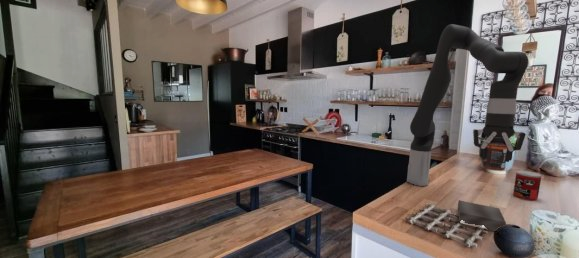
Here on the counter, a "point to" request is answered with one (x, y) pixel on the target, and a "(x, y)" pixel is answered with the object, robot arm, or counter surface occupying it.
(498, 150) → the supplement bottle
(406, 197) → the counter surface
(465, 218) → the riser
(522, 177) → the canned food
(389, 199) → the counter surface
